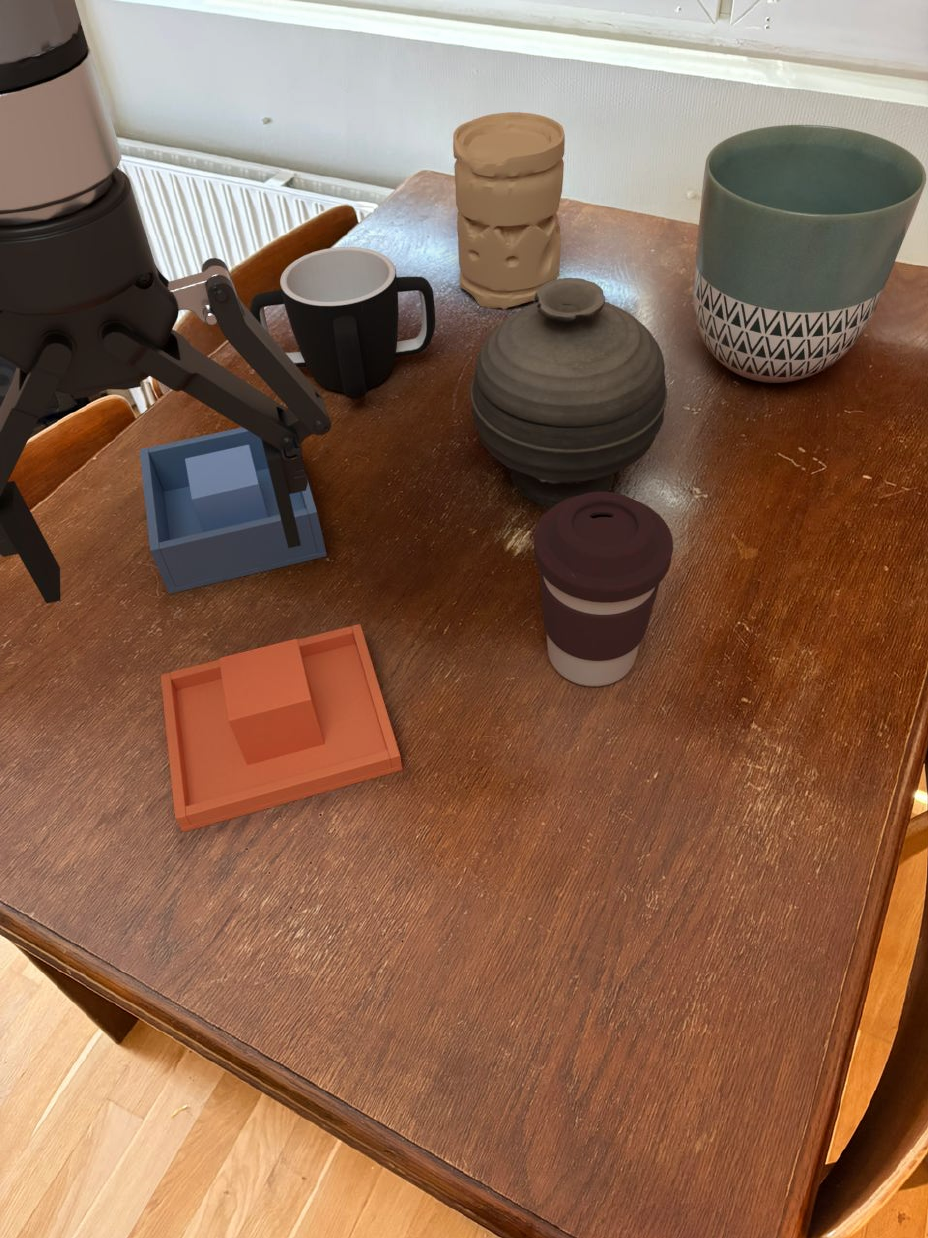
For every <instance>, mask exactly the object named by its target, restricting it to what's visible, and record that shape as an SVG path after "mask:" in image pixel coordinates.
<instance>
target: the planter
mask: <svg viewBox="0 0 928 1238" xmlns="http://www.w3.org/2000/svg"><path fill="white" fill-rule="evenodd" d="M702 179H703V180H702V189H701V196H700V197H701V198H700V200H701V201H700V211H699V221H698V231H697V238H696V248H695V249H696V250H695V262H694V271H693V273H694V274H693V282H692V302H693V312H694V313H693V314H694V317H695V323H696V327H697V331H698V334H699V336H700V338H701V340H702V342H703V343H704V345H705V347H706V348H707V350H708V351H709V352H710V354H712V356H713V357H714V358H715V359H716V360H717V361H718V362H719V363H720V364H721V365H723V366H724V367H725V368H727V369H728V370H729V371H731V372H733V373H734V374H736V375H738V376H740V377H742V378H745V379H749V380H751V381H755V382H760V383H766V384H767V383H769V384H780V383H781V384H783V383H791V382H796V381H799V380H802V379H806V378H808V377H811V376H814V375H816V374H818V373H820V372H822V371H824V370H826V369H828V368H830V367H832V365H834V364H835V363H836V362H838V361H839V360H840V359H842V358H843V357H844V356H845V355H846V354H847V353H848V352H849V351H851V349H852V347H854V345H855V344H856V343H857V341H858V340H859V338H860V337H861V335H863V334H864V331H865V329H867V326H868V325H869V323H870V322H871V320H872V317H873V316H874V314H875V311H876V309H877V308H878V304H879V302H880V299H881V297H882V294H883V293H884V290H885V287H886V285H887V282H888V280H889V278H890V276H891V273H892V270H893V267H894V266H895V262H896V260H897V257H898V256H899V253H900V249H901V247H902V245H903V243H904V240H905V238H906V236H907V233H908V230H909V228H910V226H911V223H912V221H913V218H914V216H915V213H916V211H917V208H918V206H919V203H920V200H921V198H922V195H923V192H924V190H925V186H926V183H927V172H926V169H925V167H924V165H923V163H922V162H921V161H920V160H919V159H918V157H917V156H915V155H914V154H913V153H912V152H910V151H909V150H907V149H906V148H904V147H902V146H901V145H899V144H897V143H895V142H893V141H891V140H888V139H886V138H883V137H880V136H877V135H875V134H871V133H868V132H864V131H860V130H855V129H850V128H846V127H845V128H844V127H838V126H830V125H819V124H783V125H773V126H766V127H760V128H755V129H750V130H747V131H743V132H739V133H737V134H735V135H732V136H730V137H728V138H725V139H724V140H722V141H720V142H719V143H718V144H717V145H715V146H714V147H713V148H712V149H711V150H710V151H709V153H708V154H707V157H706V159H705V164H704V171H703V178H702Z"/></svg>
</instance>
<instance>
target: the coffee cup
mask: <svg viewBox="0 0 928 1238" xmlns="http://www.w3.org/2000/svg"><path fill="white" fill-rule="evenodd" d="M673 551H674V540H673V534H672V532H671V529H670V527H669V526H668V523H667V522H666V521H665V519H663V517H661V515H660V514H659V513H657V511H655V510H654V509H653V508H651V506H648V505H647V504H645V503H643V502H641V501H638V500H637V499H635V498H632V497H630V496H628V495H626V494H622V493H618V492H614V491H613V492H612V491H607V492H592V493H586V494H583V495H580V496H576V497H572V498H569V499H567V500H564V501H562V502H560V503H558V504H557V505H555V506H554V507H552V508H549V509H548V510H547V511H546V512H545V513H544V514H543V516H542V517H541V518H540V520H539V521H538V523H537V525H536V528H535V530H534V538H533V557H534V561H535V564H536V566H537V569H538V571H539V579H540V591H541V592H540V593H541V595H540V596H541V609H542V611H541V612H542V621H543V627H544V631H545V633H546V645H547V656H548V659H549V661H550V663H551V665H552V667H553V668H554V670H555V671H556V672H557V673H558V674H559V675H560V676H562V677H563V678H565V679H566V680H567V681H570V682H572V683H574V684H576V685H579V686H583V687H603V686H608V685H612V684H614V683H617V682H618V681H620V680H622V679H623V678H624V677H626V676H627V674H628V673H630V671H631V669H632V668H633V666H634V665H635V662H636V660H637V656H638V651H639V648H640V644H641V642H642V641H643V640H644V638H645V636H646V633H647V629H648V627H649V623H650V619H651V616H652V612H653V610H654V609H653V608H654V605H655V602H656V598H657V595H658V590H659V587H660V583H662V581H663V580H664V579H665V577H666V575H667V573H668V572H669V568H670V566H671V564H672V563H671V562H672V557H673Z"/></svg>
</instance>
